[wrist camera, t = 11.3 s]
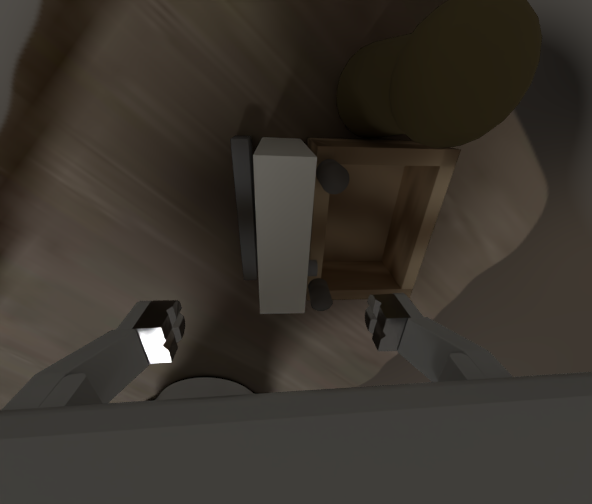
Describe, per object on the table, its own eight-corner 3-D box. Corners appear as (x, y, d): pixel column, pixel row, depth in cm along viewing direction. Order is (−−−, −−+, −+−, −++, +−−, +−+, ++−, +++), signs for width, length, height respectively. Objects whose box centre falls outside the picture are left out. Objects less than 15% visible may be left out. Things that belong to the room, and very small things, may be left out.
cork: (331, 52, 17) (404, -25, 7) (419, 30, 16) (617, -82, 7) (341, 146, 20) (401, 178, 10) (415, 128, 19) (549, 145, 10)
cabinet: (385, 263, 26) (421, 314, 19) (246, 265, 25) (236, 320, 18) (416, 140, 20) (484, 154, 13) (235, 135, 19) (214, 148, 12)
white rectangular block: (262, 137, 19) (253, 155, 11) (312, 139, 19) (337, 157, 12) (265, 248, 24) (260, 314, 16) (305, 248, 24) (319, 312, 17)
